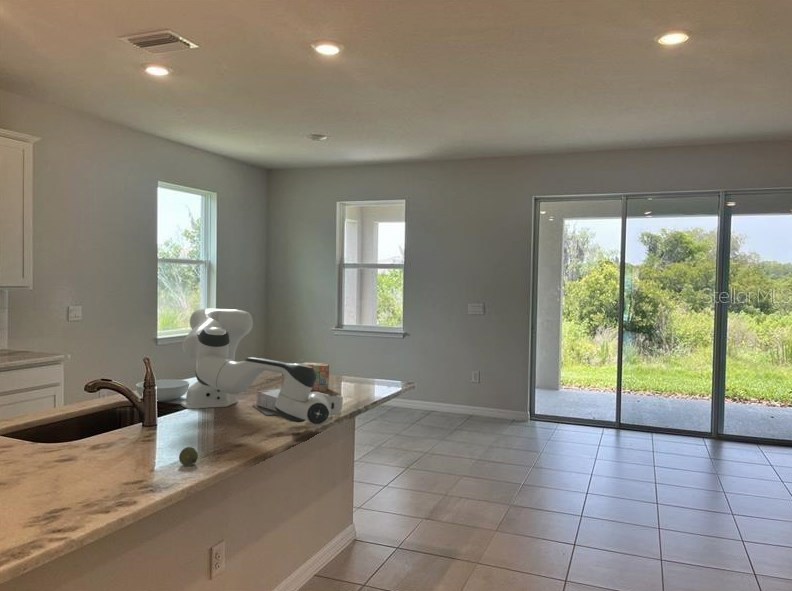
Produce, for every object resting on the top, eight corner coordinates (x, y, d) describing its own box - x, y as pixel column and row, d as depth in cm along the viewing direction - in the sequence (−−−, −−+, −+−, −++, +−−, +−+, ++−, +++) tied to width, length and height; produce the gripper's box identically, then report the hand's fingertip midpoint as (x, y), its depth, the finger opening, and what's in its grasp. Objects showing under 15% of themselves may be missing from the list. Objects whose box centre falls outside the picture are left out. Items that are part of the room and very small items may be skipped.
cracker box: (315, 411, 234) (284, 401, 248) (315, 396, 234) (285, 386, 248) (285, 416, 224) (255, 405, 238) (286, 400, 224) (256, 390, 238)
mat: (266, 416, 224) (266, 414, 224) (252, 406, 240) (252, 405, 240) (315, 411, 235) (315, 409, 235) (298, 402, 250) (298, 400, 250)
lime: (200, 464, 166) (200, 447, 166) (184, 468, 163) (184, 450, 163) (192, 461, 169) (192, 443, 169) (176, 464, 166) (176, 447, 166)
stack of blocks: (281, 389, 277) (281, 363, 277) (285, 386, 283) (286, 361, 283) (325, 391, 274) (326, 365, 274) (328, 389, 280) (329, 363, 280)
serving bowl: (188, 393, 261) (188, 378, 261) (189, 403, 241) (190, 386, 241) (136, 395, 253) (137, 379, 253) (134, 406, 234) (134, 389, 234)
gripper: (284, 413, 202) (284, 406, 216) (344, 414, 206) (340, 407, 219) (285, 395, 202) (285, 389, 216) (344, 396, 206) (341, 390, 220)
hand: (313, 398), depth 218 cm, fingers open, 8 cm apart
